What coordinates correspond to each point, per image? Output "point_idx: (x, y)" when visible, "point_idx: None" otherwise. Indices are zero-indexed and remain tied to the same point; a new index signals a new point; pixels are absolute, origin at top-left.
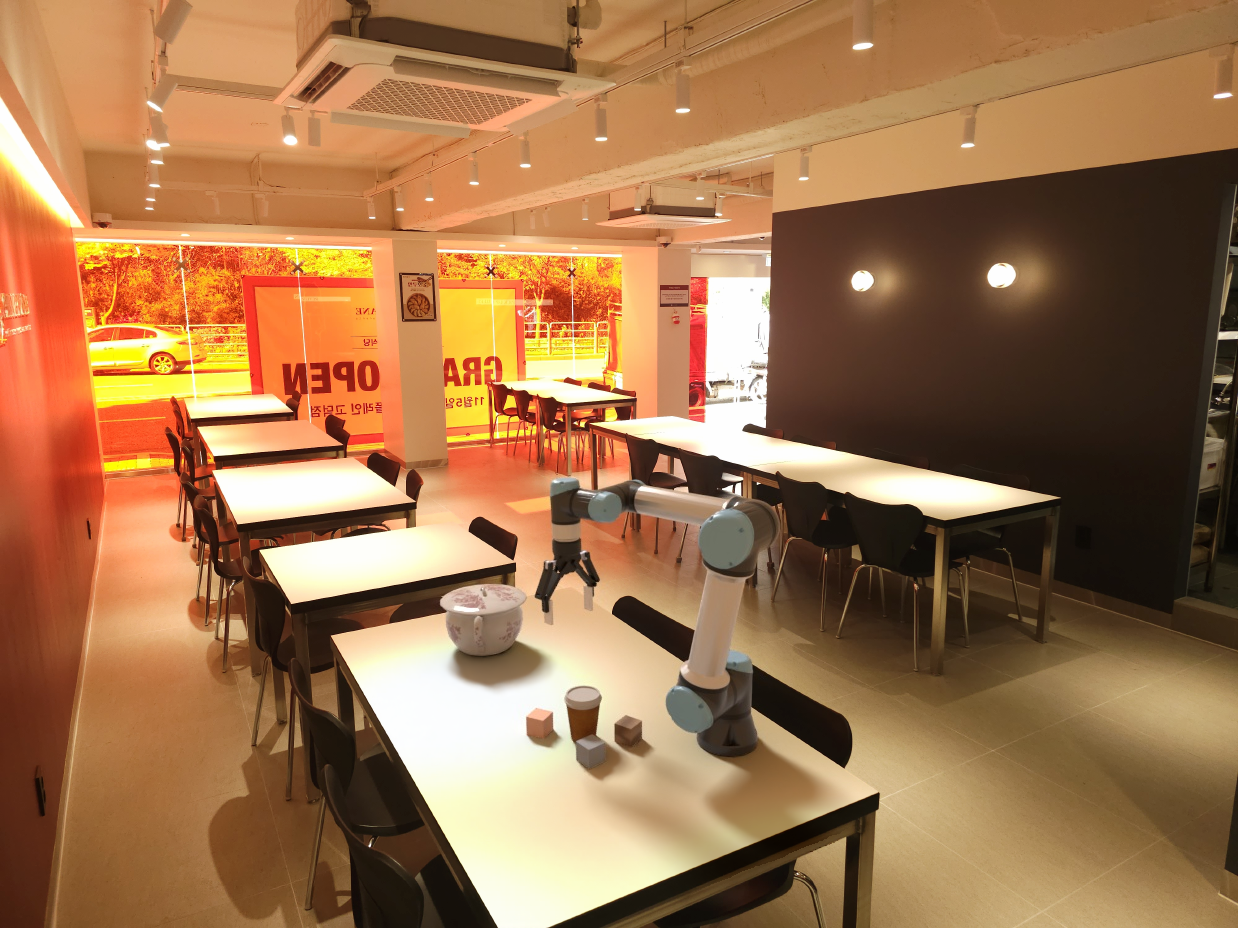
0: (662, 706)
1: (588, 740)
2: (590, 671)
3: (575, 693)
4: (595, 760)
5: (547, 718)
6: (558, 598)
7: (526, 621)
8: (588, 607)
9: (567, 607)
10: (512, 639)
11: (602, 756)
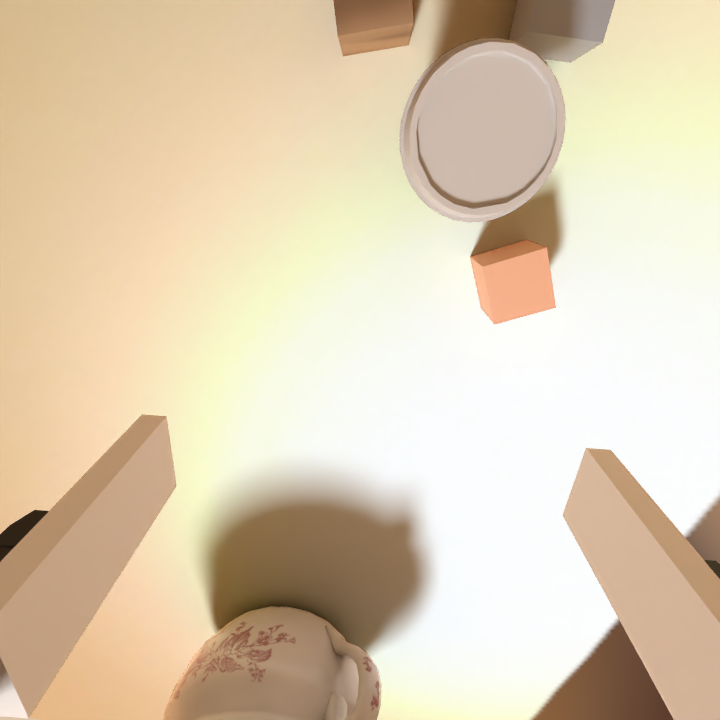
0: (132, 80)
1: (573, 5)
2: (170, 407)
3: (496, 170)
4: None
5: (517, 254)
6: None
7: (135, 664)
8: (158, 456)
9: None
10: (254, 623)
11: None
